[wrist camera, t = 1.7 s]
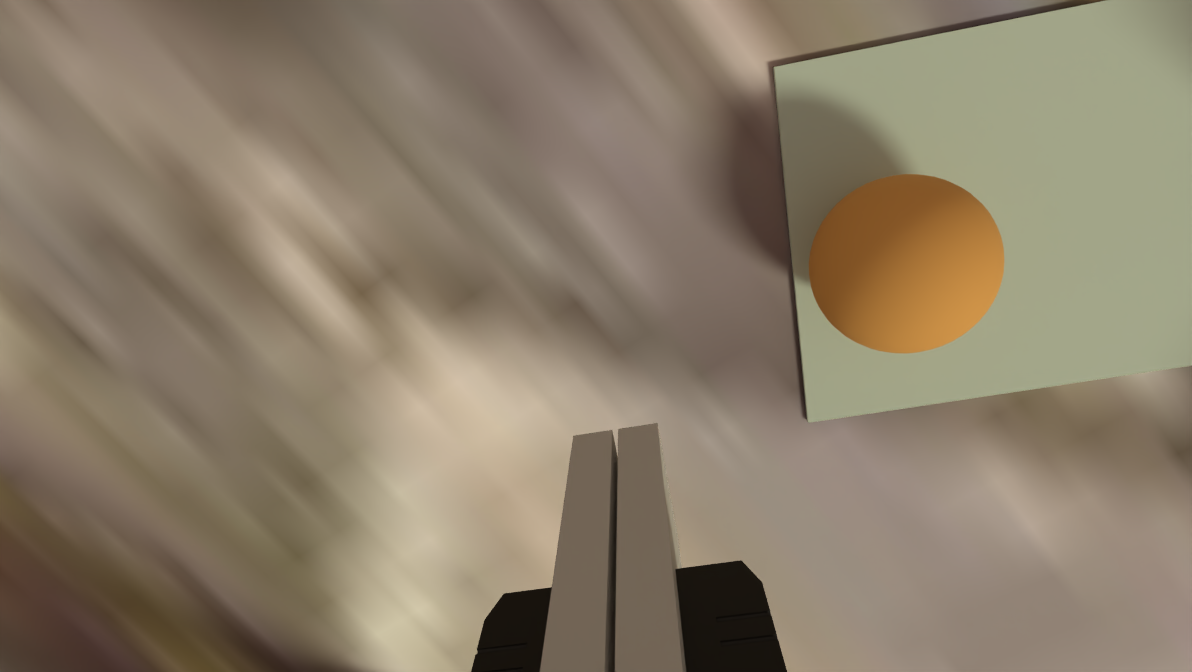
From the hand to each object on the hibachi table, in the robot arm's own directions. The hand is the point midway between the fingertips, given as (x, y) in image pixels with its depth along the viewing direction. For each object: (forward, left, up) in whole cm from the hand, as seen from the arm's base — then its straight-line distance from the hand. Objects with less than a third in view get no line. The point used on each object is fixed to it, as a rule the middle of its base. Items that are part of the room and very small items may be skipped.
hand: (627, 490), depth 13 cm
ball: (+9, 0, -11) cm, 15 cm away
